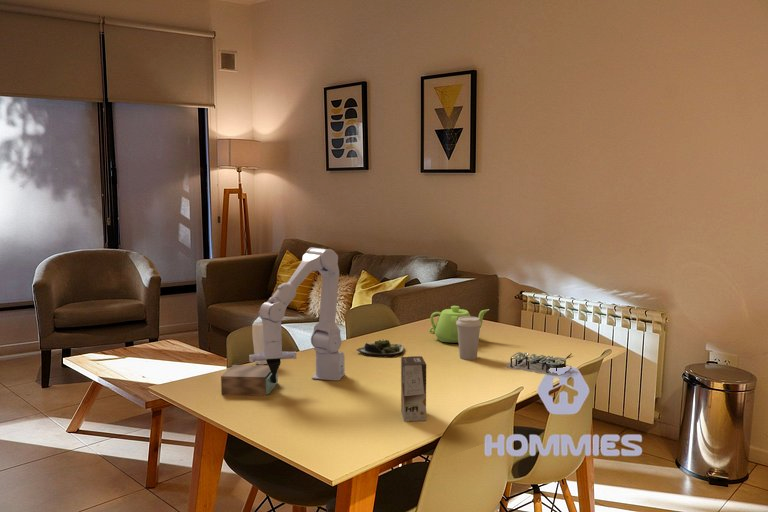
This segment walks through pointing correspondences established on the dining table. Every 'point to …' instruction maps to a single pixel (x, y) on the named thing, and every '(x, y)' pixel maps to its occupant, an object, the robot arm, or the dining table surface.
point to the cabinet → (245, 380)
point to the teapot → (450, 323)
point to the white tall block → (258, 340)
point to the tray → (270, 383)
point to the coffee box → (413, 388)
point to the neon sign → (536, 363)
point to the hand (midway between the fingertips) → (273, 382)
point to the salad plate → (381, 349)
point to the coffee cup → (468, 337)
